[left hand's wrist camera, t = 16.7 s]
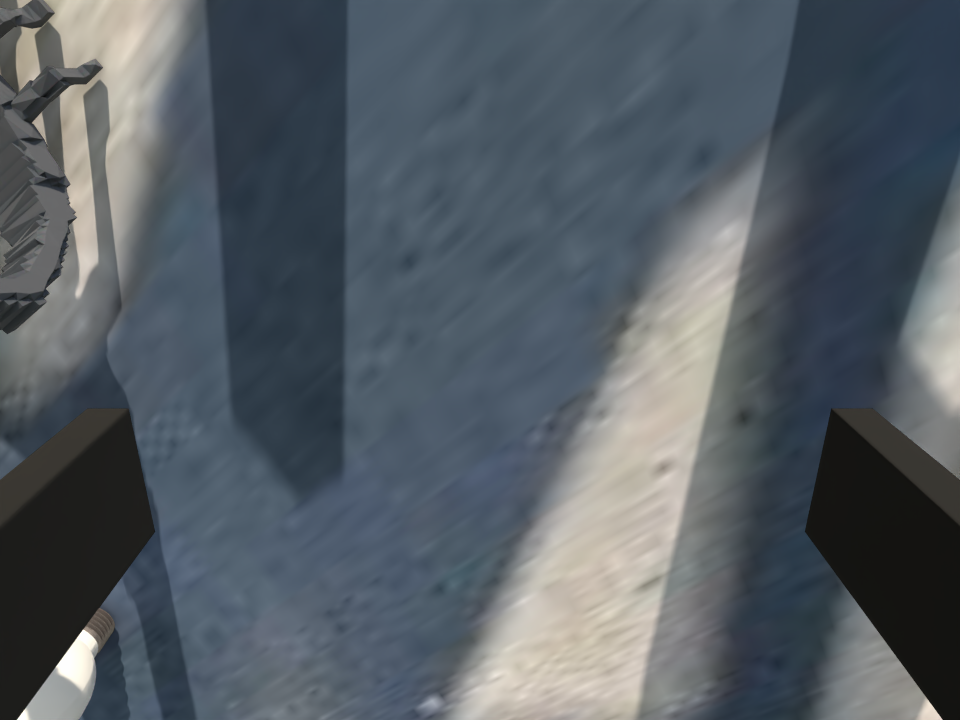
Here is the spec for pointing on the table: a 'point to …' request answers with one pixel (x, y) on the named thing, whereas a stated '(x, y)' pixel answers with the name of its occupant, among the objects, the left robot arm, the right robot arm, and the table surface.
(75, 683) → the light bulb
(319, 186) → the table surface
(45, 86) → the toy
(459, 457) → the table surface
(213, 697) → the table surface
